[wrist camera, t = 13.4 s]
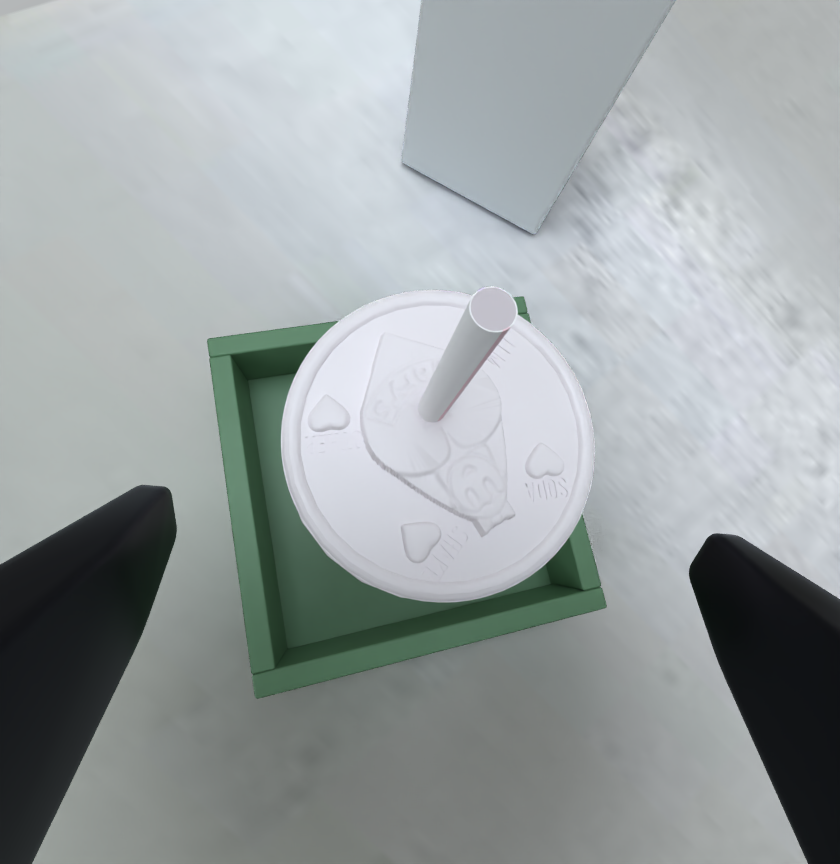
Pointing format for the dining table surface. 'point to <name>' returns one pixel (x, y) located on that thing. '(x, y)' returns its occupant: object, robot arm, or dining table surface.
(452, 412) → the smoothie
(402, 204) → the dining table surface
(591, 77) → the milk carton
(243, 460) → the caddy
